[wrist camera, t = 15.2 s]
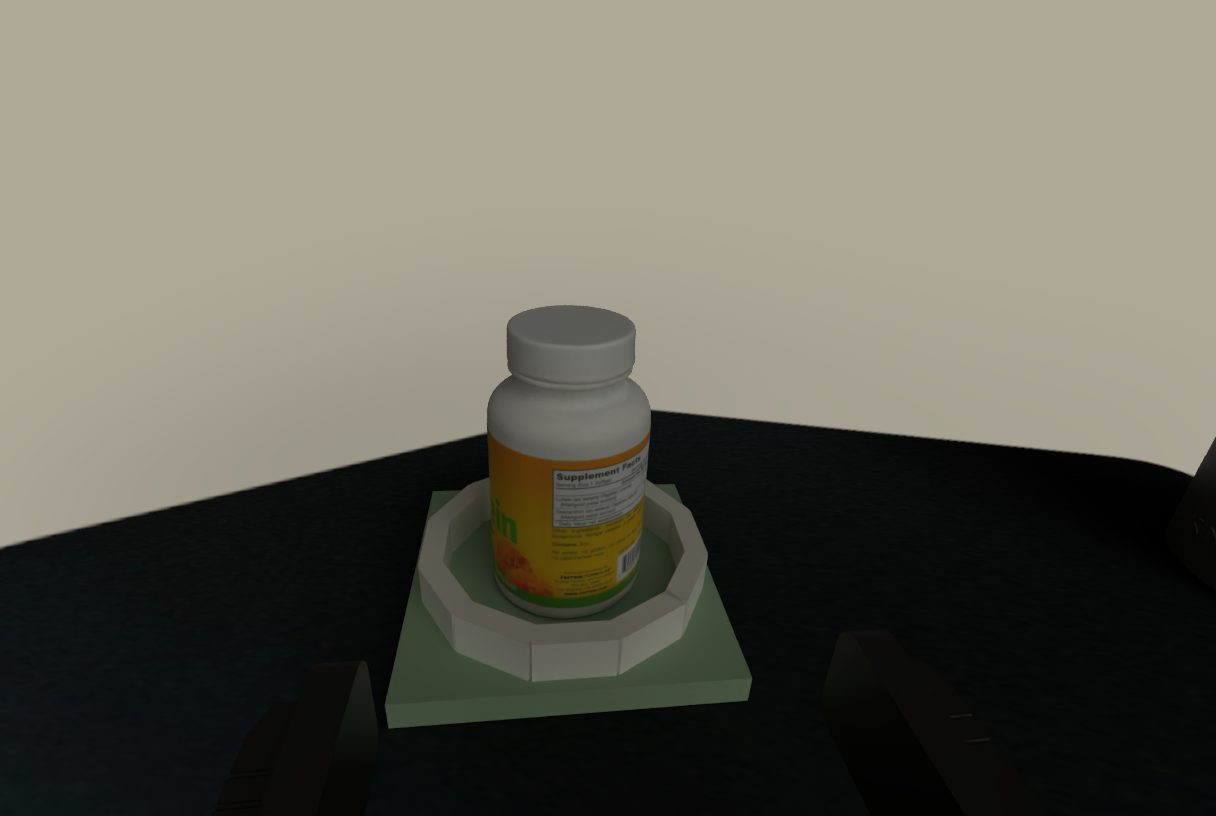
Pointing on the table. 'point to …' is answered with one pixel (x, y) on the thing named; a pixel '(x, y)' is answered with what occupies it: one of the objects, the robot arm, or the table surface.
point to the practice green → (559, 629)
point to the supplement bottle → (568, 462)
